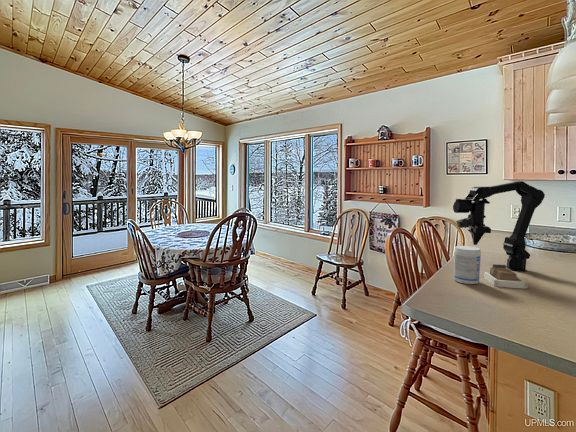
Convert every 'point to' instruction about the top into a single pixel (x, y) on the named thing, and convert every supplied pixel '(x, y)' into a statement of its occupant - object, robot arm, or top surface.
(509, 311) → the top surface
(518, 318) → the top surface
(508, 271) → the block
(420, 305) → the top surface
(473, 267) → the supplement tub
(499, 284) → the bay
